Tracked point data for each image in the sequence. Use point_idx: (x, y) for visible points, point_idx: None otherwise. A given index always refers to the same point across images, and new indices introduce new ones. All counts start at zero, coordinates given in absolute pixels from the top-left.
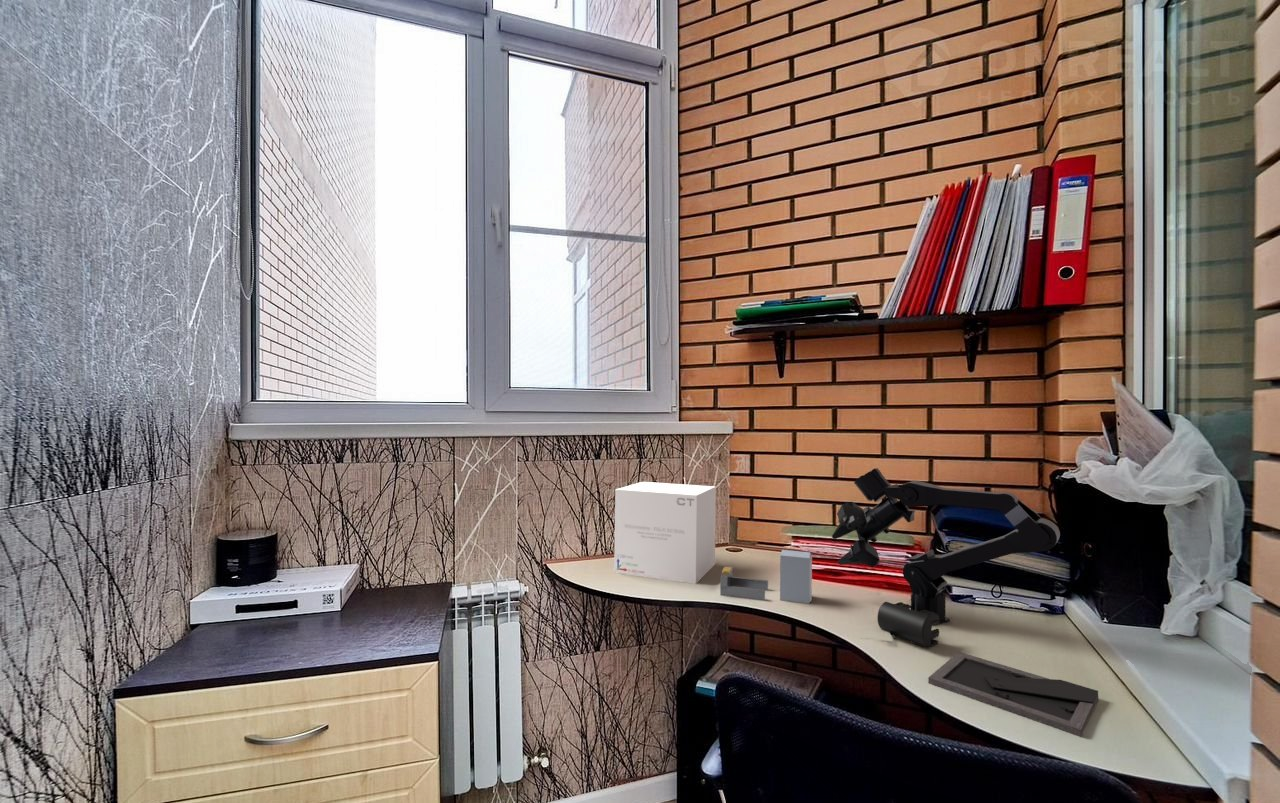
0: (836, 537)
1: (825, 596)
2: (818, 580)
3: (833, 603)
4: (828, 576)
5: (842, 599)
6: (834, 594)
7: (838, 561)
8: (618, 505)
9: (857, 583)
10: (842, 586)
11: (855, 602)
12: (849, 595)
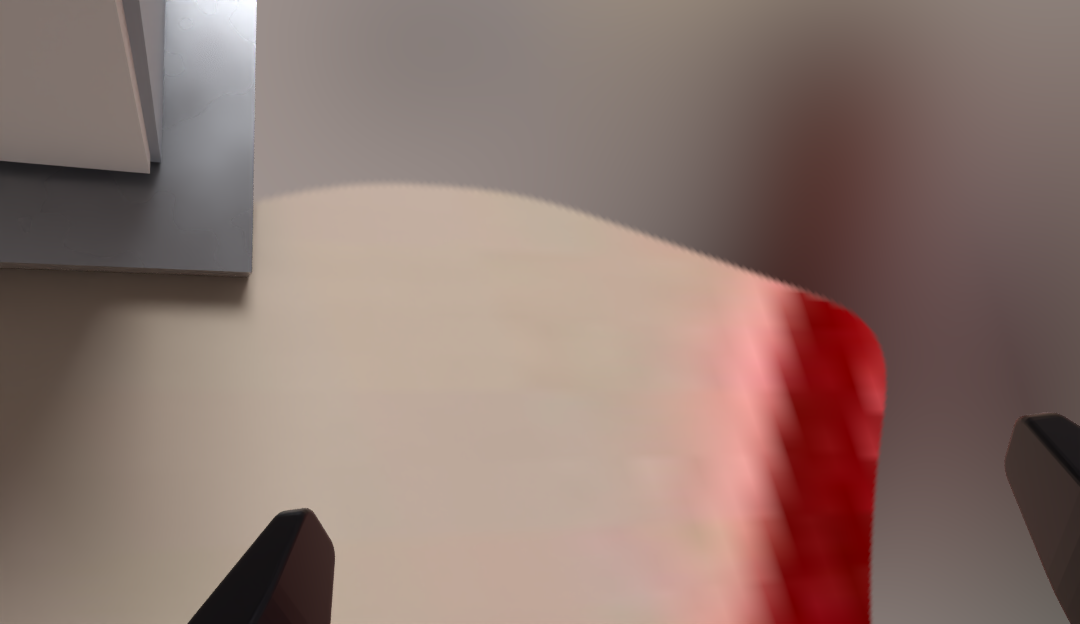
0: (1034, 511)
1: (366, 332)
2: (771, 285)
3: (160, 407)
4: (883, 365)
5: (331, 491)
6: (458, 414)
7: (272, 533)
8: None
9: (807, 591)
10: (696, 477)
11: None
12: (478, 548)
